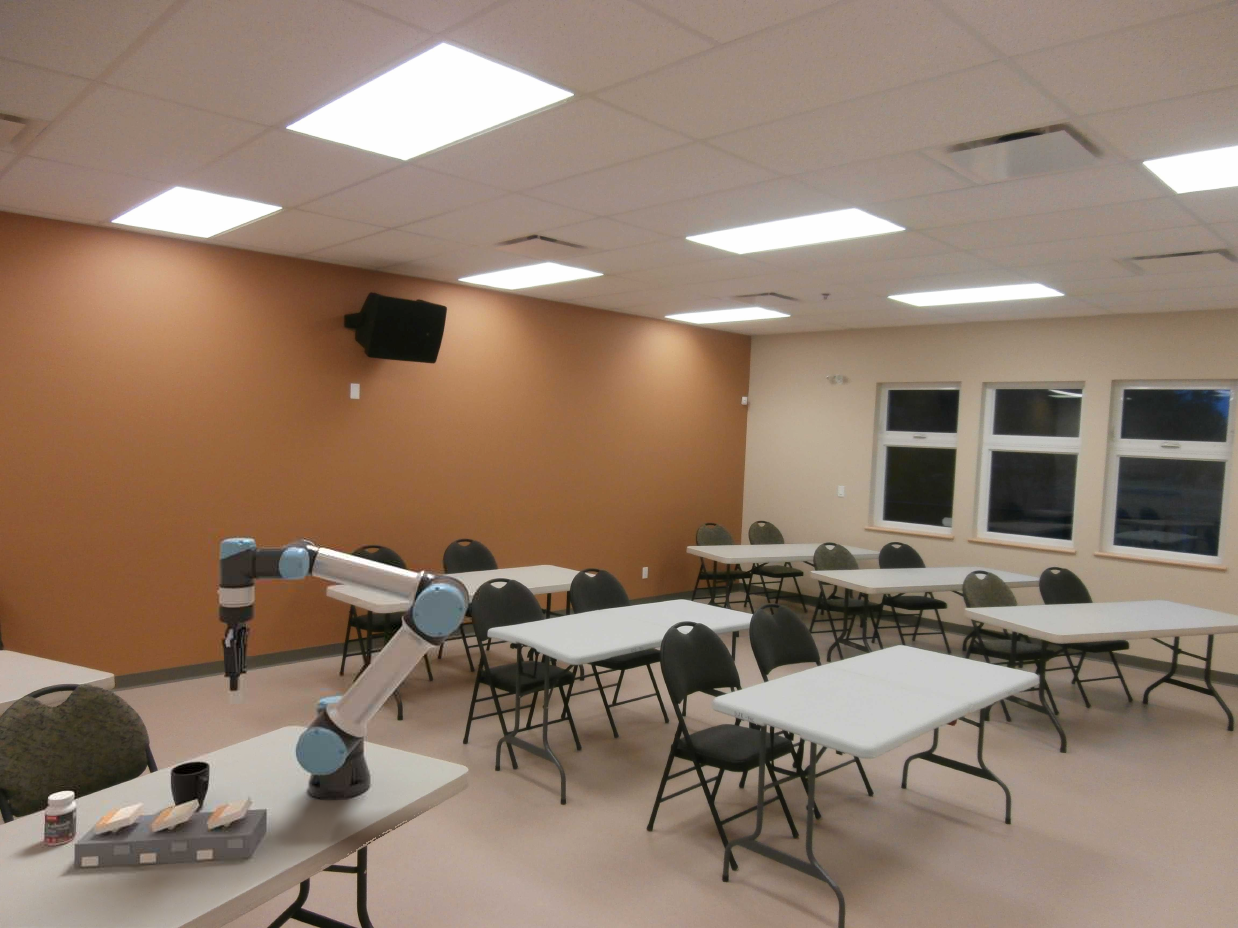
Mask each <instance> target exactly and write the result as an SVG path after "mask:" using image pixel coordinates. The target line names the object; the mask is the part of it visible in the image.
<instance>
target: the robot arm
mask: <svg viewBox="0 0 1238 928" xmlns="http://www.w3.org/2000/svg"><path fill="white" fill-rule="evenodd" d="M219 546H220V547H219V557H218V560H219V563H218V564H219V570H218V571H219V585H218V586H219V589H217V591H216V594H217V595H219V596H218V599H219V600H218V601H219V604H220V606H219V607H218V622H220V623H224V624H226V629H225V631H224V637H225V638H222V639H221V645H222V650H223V663H224V678H228V684H227V685H228V686H227V687H228V688H227V689H228V692H227V694H228V695H227V696H228V697H227V700H228V701H227V704H228V705H239V704H242V702H243V686H244V685H243V683H244V682H243V674H247V672H248V670H245V669H246V668H247V658H248V657H247V656H248V646H249V645H248V643H249V636H250V632H251V631H250V630H251V629H250V627H248V626H247V622H250V621H251V622H252V620H253V619H254V617H255V605H254V601H255V580H287V581H292V580H302V579H304V578H305V577H306V576H307V575H308V576H311V577H315V578H316V577H317V578H319V579H324V580H327V581H331V582H335V583H339V584H341V585H342V584H343V585H347V586H351V587H353V588H358V589H361V590H365V591H369V592H372V593H376V594H380V595H383V596H387V597H391V598H395V599H399V600H402V601H406V602H409V604H410V606H409V608H408V609H407V610H406V611H405V612H404V614H403V615H402V616H401V621H402V626H401V627H400V628H399V629H398V630H397V632H396V633H395V634H394V635H393V636H392V637H391V639H390V640H389V641H388V642H387V643H386V645H385V646H384V647H383V648H382V649H381V651H379V653H378V654H377V655H376V656H375V658H373V660H372V661H371V663H370V664H368V666H367V667H366V668H365V670H363V672H362V673H361V674H360V675H359V676H358V677H357V679H356V680H355V681H354V682H353V683H352V685H350V688H348V689H347V691H346V692H345V693H344V694H343V695H336V696H334V695H333V696H327V697H324V698H323V697H322V698H321V699H319V700H318V701H317V704H316V709H315V710H316V717H315V719H314V720H313V721H312V722H311V724H309V726H308V727H307V728H306V729H305V730H304V731H303V732H302V733H301V734H300V735H299V737H298V740H297V742H296V746H295V758H296V760H297V763H298V764H299V765H300V767H301V768H302V769H303V770H304V771H306V772H307V773H309V774H310V776H309V779H308V781H307V782H308V785H307V791H308V793H309V795H310V796H312V797H314V798H317V799H320V800H321V799H322V800H341V799H346V798H347V799H348V798H350V797H353V796H357V795H361V794H362V793H363V792H366V791H367V790H368V789H369V788H370V786H371V776H372V775H371V772H370V769H369V766H368V764H367V760H366V757H365V736H366V735H367V732H368V727H367V724H368V722H369V721H370V720H371V719H372V718H373V716H374V715H375V714H376V713H377V712H378V710H379V709H380V708H381V707H382V706H383V705H384V704H385V702H386V701H387V700H388V699H389V698H390V697H391V695H392V694H393V693H394V692H395V690H396V689H397V688H398V686H399V685H401V683H402V682H403V681H404V680H405V679H406V678H407V676H408V675H409V674H410V672H412V670H413V669H414V668H415V666H416V665H418V663H419V662H420V661H421V659H422V658H423V657H424V656H425V654H427V652H428V651H429V650H431V649H433V648H439V647H441V645H442V644H443V643H444V642H445V640H446V639H447V638H448V637H449V636H450V635H451V633H454V631H456V630H457V629H458V628H459V627H460V625H461V624H462V623H463V621H464V618H465V616H466V613H467V610H468V609H469V604H470V594H469V590H468V588H467V586H466V585H465V583H463V582H462V581H461V580H459V579H458V578H456V577H453V576H449V575H445V574H441V573H435V572H431V571H428V570H421V571H420V572H416V571H411V570H408V569H404V568H401V567H397V566H393V565H389V564H386V563H381V562H379V561H375V560H372V559H368V558H364V557H359V556H355V555H353V554H348V553H345V552H341V551H337V550H333V549H330V548H325V547H321V546H318V545H315V544H314V543H313V542H312V541H309V540H305V539H297V540H293V541H292V542H290V543H288V544H284V545H282V546H279V547H259V546H257V545H256V541H255V539H254V538H246V537H236V538H235V537H233V538H227V539H224V540H222V541H221V543H220V545H219Z"/></svg>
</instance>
